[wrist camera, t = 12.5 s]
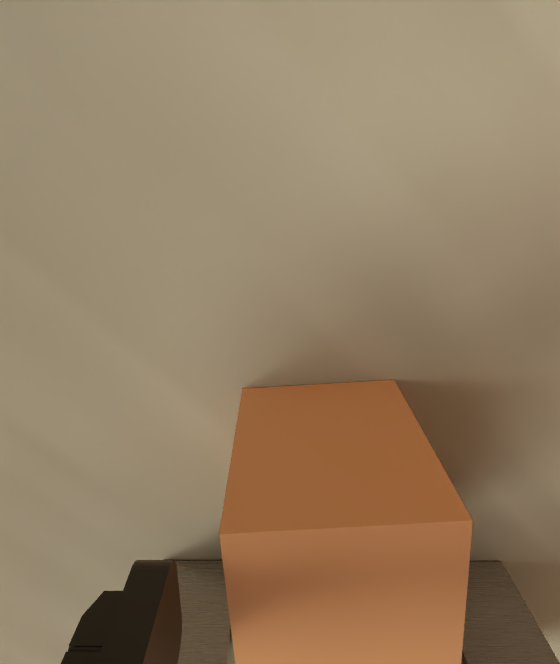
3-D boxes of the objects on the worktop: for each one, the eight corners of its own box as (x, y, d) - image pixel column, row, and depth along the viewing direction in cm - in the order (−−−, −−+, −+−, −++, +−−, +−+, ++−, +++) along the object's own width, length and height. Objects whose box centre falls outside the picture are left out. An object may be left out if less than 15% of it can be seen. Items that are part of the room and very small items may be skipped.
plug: (273, 713, 19) (271, 951, 13) (242, 388, 14) (218, 534, 8) (388, 708, 19) (437, 945, 13) (393, 379, 14) (473, 520, 8)
